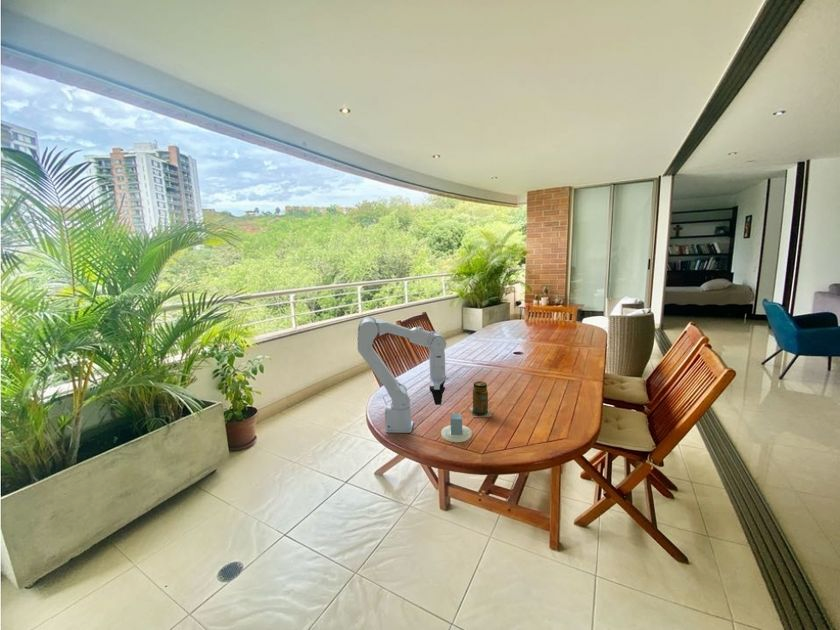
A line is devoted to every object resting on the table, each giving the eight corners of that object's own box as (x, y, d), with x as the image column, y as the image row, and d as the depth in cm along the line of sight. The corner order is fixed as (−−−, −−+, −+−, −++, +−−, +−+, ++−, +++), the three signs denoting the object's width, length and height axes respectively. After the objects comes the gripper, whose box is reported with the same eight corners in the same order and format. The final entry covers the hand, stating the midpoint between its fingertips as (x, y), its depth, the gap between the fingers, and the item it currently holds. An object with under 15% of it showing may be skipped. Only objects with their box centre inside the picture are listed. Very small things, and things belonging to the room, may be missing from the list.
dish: (440, 443, 117) (440, 440, 117) (442, 426, 128) (441, 423, 127) (472, 443, 116) (472, 440, 115) (471, 427, 126) (471, 424, 126)
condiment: (486, 406, 141) (486, 379, 139) (492, 416, 133) (492, 387, 130) (469, 408, 141) (468, 380, 138) (473, 418, 132) (473, 389, 130)
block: (450, 434, 120) (450, 419, 119) (451, 428, 124) (450, 413, 123) (462, 435, 119) (462, 419, 118) (462, 429, 123) (461, 413, 122)
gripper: (447, 372, 118) (448, 408, 120) (448, 359, 132) (449, 391, 134) (427, 372, 119) (429, 408, 121) (430, 359, 133) (432, 391, 135)
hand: (438, 399), depth 128 cm, fingers open, 7 cm apart
